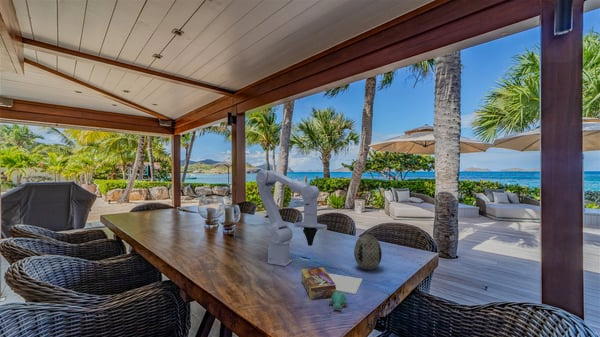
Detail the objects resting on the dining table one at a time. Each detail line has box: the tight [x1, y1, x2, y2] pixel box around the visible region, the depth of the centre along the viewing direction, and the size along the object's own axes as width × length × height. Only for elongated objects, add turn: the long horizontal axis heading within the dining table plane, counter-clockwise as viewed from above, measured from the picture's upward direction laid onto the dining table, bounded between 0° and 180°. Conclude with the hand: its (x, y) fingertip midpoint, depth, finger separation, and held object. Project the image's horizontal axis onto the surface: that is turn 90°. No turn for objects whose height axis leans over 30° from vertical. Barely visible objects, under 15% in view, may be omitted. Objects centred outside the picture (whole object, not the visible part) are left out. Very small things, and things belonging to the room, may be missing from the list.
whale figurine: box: [328, 291, 348, 311], centre depth 84 cm, size 6×7×4 cm
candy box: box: [300, 267, 337, 300], centre depth 96 cm, size 9×4×15 cm
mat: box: [327, 272, 363, 295], centre depth 101 cm, size 16×14×1 cm
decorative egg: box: [353, 233, 383, 271], centre depth 117 cm, size 12×12×15 cm
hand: (310, 245), depth 116 cm, fingers closed
